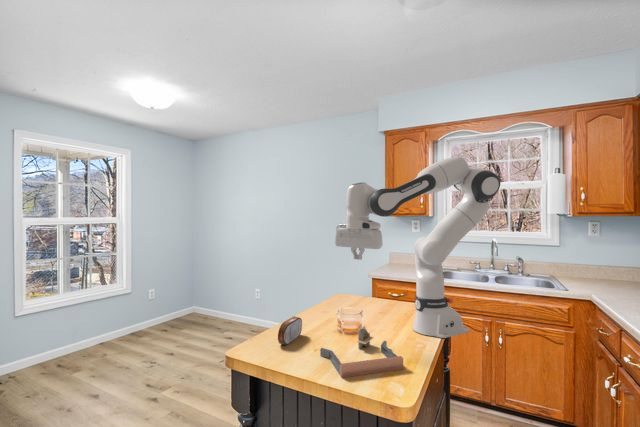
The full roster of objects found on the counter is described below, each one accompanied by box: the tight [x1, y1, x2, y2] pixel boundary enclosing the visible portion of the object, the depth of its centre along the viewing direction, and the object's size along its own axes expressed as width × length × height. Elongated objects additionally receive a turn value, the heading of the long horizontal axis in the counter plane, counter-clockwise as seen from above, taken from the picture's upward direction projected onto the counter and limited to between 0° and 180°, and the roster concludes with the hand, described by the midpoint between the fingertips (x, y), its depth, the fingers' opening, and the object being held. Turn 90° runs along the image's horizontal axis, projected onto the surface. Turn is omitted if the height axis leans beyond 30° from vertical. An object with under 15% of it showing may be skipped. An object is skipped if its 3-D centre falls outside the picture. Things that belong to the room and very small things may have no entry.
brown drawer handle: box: [319, 340, 404, 379], centre depth 108 cm, size 25×17×4 cm
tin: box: [277, 315, 303, 346], centre depth 126 cm, size 15×3×8 cm, turn 155°
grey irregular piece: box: [357, 325, 374, 350], centre depth 118 cm, size 3×7×7 cm, turn 147°
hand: (357, 259), depth 128 cm, fingers closed
